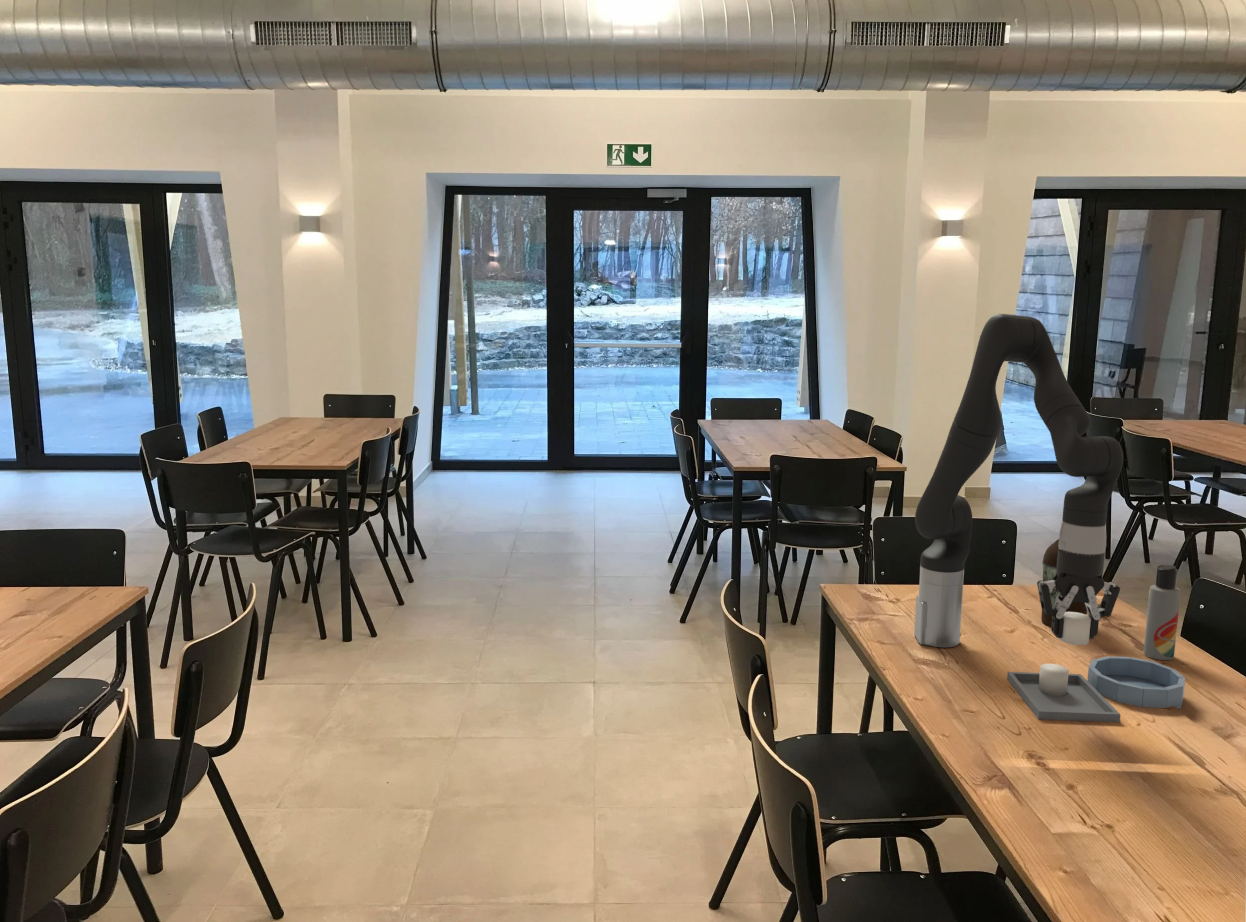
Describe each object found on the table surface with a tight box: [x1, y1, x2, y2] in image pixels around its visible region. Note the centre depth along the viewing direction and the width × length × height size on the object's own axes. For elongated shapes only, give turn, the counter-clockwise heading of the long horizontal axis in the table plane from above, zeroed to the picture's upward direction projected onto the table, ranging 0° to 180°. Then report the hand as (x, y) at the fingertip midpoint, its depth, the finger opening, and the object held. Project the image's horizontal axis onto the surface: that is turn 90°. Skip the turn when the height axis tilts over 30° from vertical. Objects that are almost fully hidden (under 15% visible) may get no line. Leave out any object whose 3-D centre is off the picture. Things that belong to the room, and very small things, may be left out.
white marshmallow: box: [1058, 612, 1091, 646], centre depth 167 cm, size 5×5×4 cm
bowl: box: [1086, 655, 1186, 710], centre depth 177 cm, size 16×16×4 cm
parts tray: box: [1006, 671, 1121, 724], centre depth 173 cm, size 14×18×2 cm
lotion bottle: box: [1143, 564, 1182, 661], centre depth 195 cm, size 6×6×20 cm
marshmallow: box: [1038, 663, 1070, 696], centre depth 177 cm, size 5×5×4 cm
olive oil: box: [1040, 538, 1088, 628], centre depth 215 cm, size 11×11×25 cm
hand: (1073, 636), depth 167 cm, fingers closed on white marshmallow, 5 cm apart
